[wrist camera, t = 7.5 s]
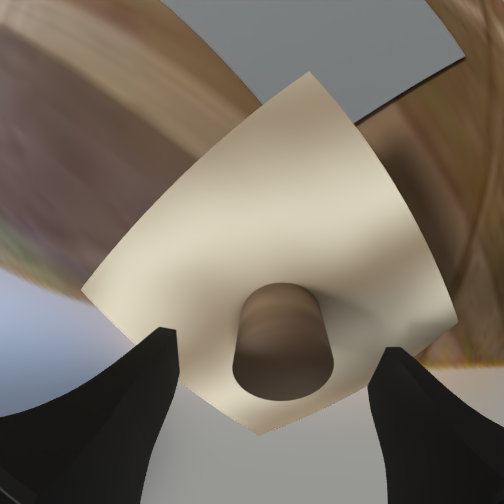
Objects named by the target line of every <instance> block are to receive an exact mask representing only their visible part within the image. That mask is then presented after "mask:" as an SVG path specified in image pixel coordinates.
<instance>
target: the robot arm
mask: <svg viewBox="0 0 504 504" xmlns="http://www.w3.org/2000/svg"><path fill="white" fill-rule="evenodd" d="M179 374H180V367H179V356H178V345H177V332H176V330H175V329H170V328H164V327H158V328H157V329H155V330H154V331H153V332H152V333H151V334H149V335H148V336H147V337H146V338H145V339H143V340H142V341H141V342H140V343H139V344H137V345H136V346H135V347H134V348H133V349H131V350H130V351H129V352H128V353H126V354H125V355H124V356H123V357H121V358H120V359H119V360H117V361H116V362H115V363H114V364H112V365H111V366H109V367H108V368H107V369H105V370H104V371H102V372H101V373H100V374H98V375H97V376H95V377H94V378H92V379H91V380H89V381H88V382H86V383H84V384H83V385H81V386H79V387H78V388H76V389H74V390H72V391H70V392H69V393H67V394H65V395H63V396H61V397H58V398H56V399H54V400H51V401H49V402H47V403H45V404H42V405H40V406H37V407H35V408H32V409H29V410H26V411H23V412H20V413H16V414H13V415H9V416H5V417H0V504H140V500H141V495H142V490H143V485H144V481H145V476H146V472H147V468H148V464H149V460H150V456H151V453H152V450H153V447H154V444H155V442H156V439H157V437H158V434H159V432H160V430H161V427H162V424H163V422H164V419H165V417H166V415H167V412H168V410H169V407H170V405H171V402H172V399H173V397H174V393H175V390H176V386H177V382H178V378H179ZM368 395H369V402H370V408H371V413H372V416H373V420H374V423H375V427H376V431H377V434H378V438H379V441H380V446H381V449H382V453H383V457H384V462H385V468H386V477H387V492H388V504H504V427H502V426H500V425H499V424H497V423H495V422H493V421H491V420H489V419H488V418H486V417H485V416H483V415H481V414H480V413H478V412H477V411H475V410H474V409H473V408H471V407H470V406H468V405H467V404H466V403H464V402H463V401H462V400H461V399H459V398H458V397H457V396H456V395H454V394H453V393H452V392H451V391H450V390H449V389H447V388H446V387H445V386H444V385H443V384H442V383H441V382H439V381H438V380H437V379H436V378H435V377H434V376H433V375H432V374H431V373H430V372H428V370H426V369H425V368H424V367H423V366H422V365H421V364H420V363H419V362H418V361H417V360H416V359H414V358H413V357H412V356H411V355H410V354H409V353H408V352H406V351H405V350H404V349H403V348H401V347H386V348H385V351H384V353H383V355H382V357H381V359H380V362H379V364H378V366H377V368H376V370H375V372H374V374H373V376H372V378H371V380H370V382H369V384H368Z"/></svg>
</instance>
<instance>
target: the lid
mask: <svg viewBox="0 0 504 504" xmlns="http://www.w3.org/2000/svg"><path fill="white" fill-rule="evenodd" d="M81 290H82V292H83V293H84V294H85V295H86V296H87V297H88V298H89V299H90V300H91V301H92V302H93V304H94V305H95V306H96V307H97V308H98V309H99V310H100V311H101V312H102V313H103V314H104V315H105V316H106V317H107V318H108V319H109V320H110V321H111V322H112V323H113V324H114V325H115V326H116V327H117V328H118V329H119V330H120V331H121V332H122V333H124V334H125V335H126V336H127V337H128V338H129V339H130V340H131V341H132V342H133V343H134V344H135V345H137V344H139V343H140V342H141V341H142V340H143V339H145V338H146V337H147V336H148V335H149V334H151V333H152V332H153V331H154V330H155V329H157V328H158V327H164V328H170V329H175V330H176V332H177V345H178V356H179V367H180V374H179V378H178V381H180V382H181V383H182V384H184V385H185V386H186V387H187V388H189V389H190V390H191V391H193V392H194V393H196V394H197V395H198V396H200V397H201V398H202V399H204V400H205V401H207V402H208V403H210V404H211V405H212V406H214V407H215V408H217V409H218V410H220V411H221V412H223V413H224V414H226V415H227V416H229V417H230V418H232V419H233V420H235V421H237V422H238V423H240V424H241V425H243V426H245V427H246V428H248V429H250V430H251V431H253V432H255V433H256V434H258V435H261V434H264V433H267V432H269V431H272V430H275V429H278V428H280V427H283V426H285V425H288V424H290V423H292V422H295V421H297V420H300V419H302V418H304V417H306V416H309V415H311V414H313V413H315V412H317V411H320V410H322V409H324V408H326V407H328V406H330V405H332V404H334V403H336V402H338V401H340V400H342V399H344V398H346V397H347V396H349V395H351V394H353V393H355V392H357V391H359V390H360V389H362V388H364V387H366V386H367V385H368V384H369V382H370V380H371V378H372V376H373V374H374V372H375V370H376V368H377V366H378V364H379V362H380V359H381V357H382V355H383V353H384V351H385V348H386V347H401V348H403V349H404V350H405V351H406V352H408V353H409V354H410V355H411V356H412V357H413V356H415V355H416V354H418V353H419V352H420V351H422V350H423V349H424V348H426V347H427V346H429V345H430V344H431V343H433V342H434V341H435V340H437V339H438V338H439V337H440V336H442V335H443V334H444V333H445V332H447V331H448V330H449V329H450V328H452V327H453V326H454V325H455V324H456V323H458V319H457V316H456V313H455V310H454V307H453V304H452V302H451V299H450V296H449V294H448V291H447V288H446V286H445V283H444V281H443V279H442V276H441V274H440V271H439V269H438V267H437V265H436V262H435V260H434V258H433V256H432V253H431V251H430V249H429V247H428V245H427V243H426V241H425V239H424V237H423V235H422V233H421V231H420V229H419V227H418V225H417V223H416V221H415V219H414V217H413V216H412V214H411V212H410V210H409V208H408V206H407V205H406V203H405V201H404V199H403V198H402V196H401V194H400V192H399V191H398V189H397V187H396V186H395V184H394V182H393V181H392V179H391V178H390V176H389V174H388V173H387V171H386V170H385V168H384V167H383V165H382V164H381V162H380V161H379V159H378V158H377V156H376V155H375V153H374V152H373V150H372V149H371V147H370V146H369V144H368V143H367V142H366V140H365V139H364V137H363V136H362V135H361V133H360V132H359V131H358V129H357V128H356V127H355V125H354V124H353V123H352V121H351V120H350V119H349V117H348V116H347V115H346V114H345V112H344V111H343V110H342V109H341V107H340V106H339V105H338V104H337V102H336V101H335V100H334V99H333V98H332V96H331V95H330V94H329V93H328V92H327V90H326V89H325V88H324V87H323V86H322V85H321V84H320V82H319V81H318V80H317V79H316V78H315V77H314V76H313V75H312V74H311V73H310V71H309V72H307V73H306V74H304V75H303V76H302V77H300V78H299V79H297V80H296V81H294V82H293V83H292V84H290V85H289V86H288V87H286V88H285V89H283V90H282V91H281V92H279V93H278V94H277V95H275V96H274V97H273V98H272V99H270V100H269V101H268V102H266V103H265V104H264V105H262V106H261V107H260V108H259V109H257V110H256V111H255V112H254V113H252V114H251V115H250V116H249V117H247V118H246V119H245V120H244V121H243V122H241V123H240V124H239V125H238V126H237V127H235V128H234V129H233V130H232V131H231V132H230V133H228V134H227V135H226V136H225V137H224V138H223V139H221V140H220V141H219V142H218V143H217V144H216V145H215V146H213V147H212V148H211V149H210V150H209V151H208V152H207V153H206V154H205V155H204V156H202V157H201V158H200V159H199V160H198V161H197V162H196V163H195V164H194V165H193V166H192V167H191V168H190V169H189V170H187V171H186V172H185V173H184V174H183V175H182V176H181V177H180V178H179V179H178V180H177V181H176V182H175V183H174V184H173V185H172V186H171V187H170V188H169V189H168V190H167V191H166V192H165V193H164V194H163V195H162V196H161V197H160V198H159V199H158V200H157V201H156V202H155V203H154V204H153V206H152V207H151V208H150V209H149V210H148V211H147V212H146V213H145V214H144V215H143V216H142V217H141V218H140V219H139V221H138V222H137V223H136V224H135V225H134V226H133V227H132V228H131V229H130V230H129V232H128V233H127V234H126V235H125V236H124V237H123V238H122V240H121V241H120V242H119V243H118V244H117V245H116V247H115V248H114V249H113V250H112V251H111V252H110V254H109V255H108V256H107V257H106V258H105V260H104V261H103V262H102V263H101V265H100V266H99V267H98V268H97V270H96V271H95V272H94V273H93V275H92V276H91V277H90V278H89V280H88V281H87V282H86V284H85V285H84V286H83V287H82V289H81Z"/></svg>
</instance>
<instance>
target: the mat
mask: <svg viewBox="0 0 504 504" xmlns="http://www.w3.org/2000/svg"><path fill="white" fill-rule="evenodd" d="M160 1H161V2H163V3H164V4H165V5H166V6H167V7H168V8H169V9H171V10H172V11H173V12H174V13H175V14H176V15H177V16H178V17H180V18H181V19H182V20H183V21H184V22H185V23H186V24H187V25H188V26H189V27H190V28H191V29H192V30H193V31H195V32H196V33H197V34H198V35H199V36H200V37H201V38H202V39H203V40H204V41H205V42H206V43H207V44H208V45H209V46H210V47H211V48H212V49H213V50H214V51H215V52H216V53H217V54H218V55H219V57H220V58H221V59H222V60H223V61H224V62H225V63H226V64H227V65H228V66H229V67H230V68H231V69H232V70H233V71H234V73H235V74H236V75H237V76H238V77H239V78H240V79H241V80H242V81H243V83H244V84H245V85H246V86H247V87H248V88H249V89H250V91H251V92H252V93H253V94H254V95H255V96H256V98H257V99H258V100H259V101H260V102H261V103H262V105H264V104H265V103H266V102H268V101H269V100H270V99H272V98H273V97H274V96H275V95H277V94H278V93H279V92H281V91H282V90H283V89H285V88H286V87H288V86H289V85H290V84H292V83H293V82H294V81H296V80H297V79H299V78H300V77H302V76H303V75H304V74H306V73H307V72H309V71H310V73H311V74H312V75H313V76H314V77H315V78H316V79H317V80H318V81H319V82H320V84H321V85H322V86H323V87H324V88H325V89H326V90H327V92H328V93H329V94H330V95H331V96H332V98H333V99H334V100H335V101H336V102H337V104H338V105H339V106H340V107H341V109H342V110H343V111H344V112H345V114H346V115H347V116H348V117H349V119H350V120H351V121H352V123H355V122H356V121H358V120H360V119H361V118H363V117H364V116H366V115H367V114H369V113H370V112H372V111H373V110H375V109H377V108H378V107H380V106H381V105H383V104H384V103H386V102H388V101H389V100H391V99H392V98H394V97H396V96H397V95H399V94H401V93H402V92H404V91H405V90H407V89H409V88H410V87H412V86H414V85H415V84H417V83H419V82H420V81H422V80H424V79H426V78H427V77H429V76H431V75H432V74H434V73H436V72H438V71H439V70H441V69H443V68H445V67H446V66H448V65H450V64H452V63H454V62H455V61H457V60H459V59H461V58H463V57H465V55H464V53H463V52H462V50H461V49H460V47H459V46H458V44H457V43H456V41H455V40H454V38H453V37H452V35H451V34H450V32H449V31H448V30H447V28H446V27H445V26H444V24H443V23H442V22H441V20H440V19H439V18H438V16H437V15H436V14H435V13H434V11H433V10H432V9H431V8H430V7H429V5H428V4H427V3H426V2H425V1H424V0H160Z"/></svg>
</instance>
